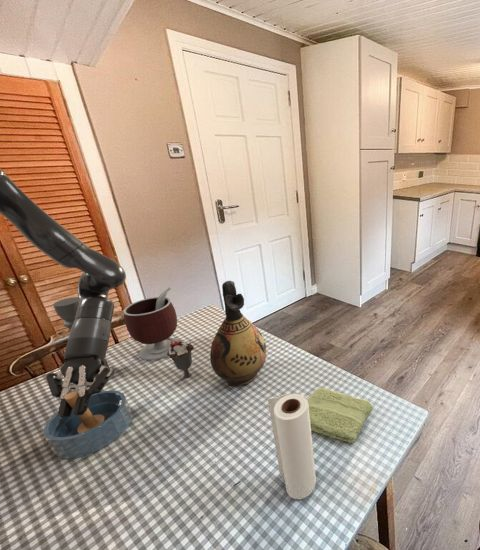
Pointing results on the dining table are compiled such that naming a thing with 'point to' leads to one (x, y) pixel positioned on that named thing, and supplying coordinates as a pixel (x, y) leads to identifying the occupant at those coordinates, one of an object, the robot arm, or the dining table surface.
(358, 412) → the washcloth
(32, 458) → the dining table surface
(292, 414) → the paper towel roll
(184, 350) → the sundae
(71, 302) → the candle holder
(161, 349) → the mate gourd
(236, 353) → the ceramic jug
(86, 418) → the wooden stamp
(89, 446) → the bowl
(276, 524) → the dining table surface
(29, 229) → the robot arm
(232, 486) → the dining table surface
